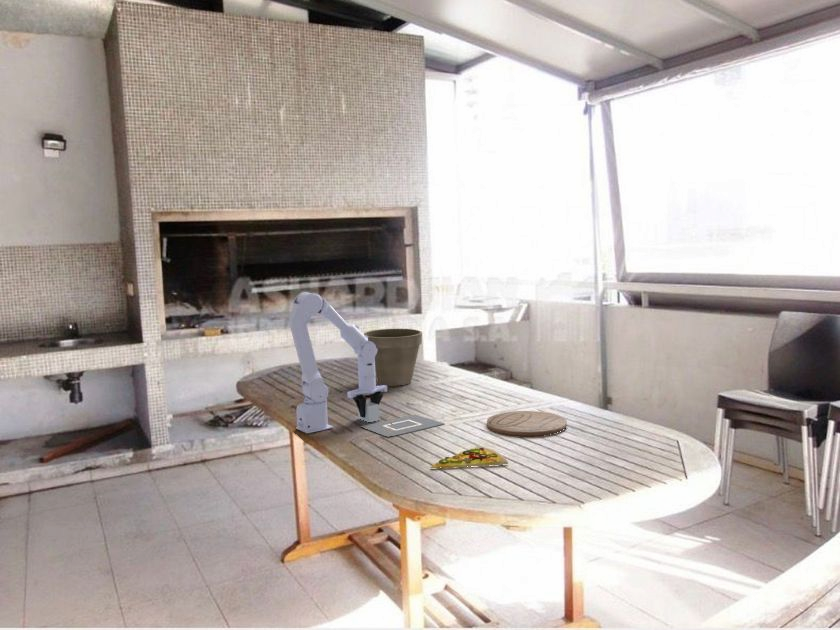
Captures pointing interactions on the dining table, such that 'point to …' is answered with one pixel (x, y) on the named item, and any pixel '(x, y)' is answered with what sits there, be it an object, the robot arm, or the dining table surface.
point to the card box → (370, 412)
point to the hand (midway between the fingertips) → (368, 415)
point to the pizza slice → (472, 459)
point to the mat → (403, 425)
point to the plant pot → (395, 354)
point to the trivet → (526, 423)
